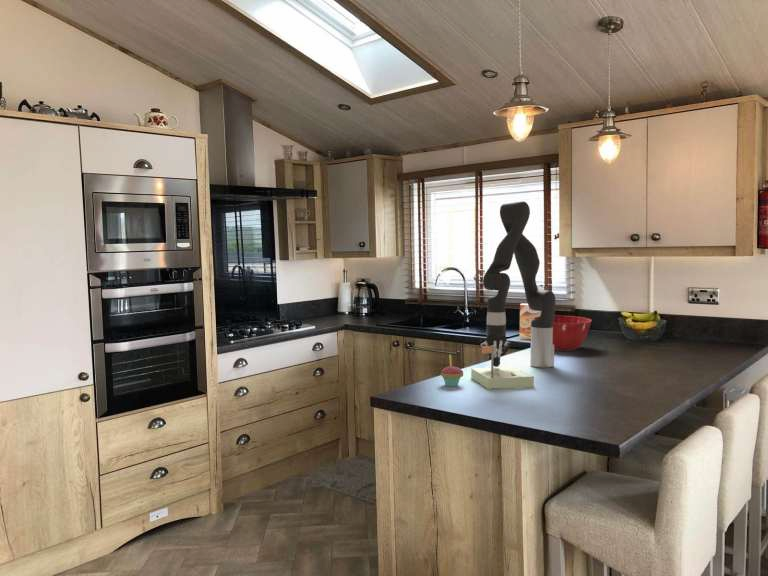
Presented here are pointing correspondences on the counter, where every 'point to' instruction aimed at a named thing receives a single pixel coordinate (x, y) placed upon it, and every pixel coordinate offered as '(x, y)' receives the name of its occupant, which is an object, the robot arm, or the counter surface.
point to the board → (493, 380)
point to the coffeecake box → (526, 320)
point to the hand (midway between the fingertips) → (495, 366)
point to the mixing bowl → (569, 332)
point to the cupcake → (451, 374)
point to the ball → (505, 374)
